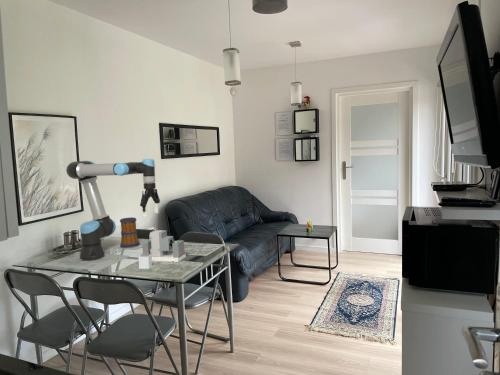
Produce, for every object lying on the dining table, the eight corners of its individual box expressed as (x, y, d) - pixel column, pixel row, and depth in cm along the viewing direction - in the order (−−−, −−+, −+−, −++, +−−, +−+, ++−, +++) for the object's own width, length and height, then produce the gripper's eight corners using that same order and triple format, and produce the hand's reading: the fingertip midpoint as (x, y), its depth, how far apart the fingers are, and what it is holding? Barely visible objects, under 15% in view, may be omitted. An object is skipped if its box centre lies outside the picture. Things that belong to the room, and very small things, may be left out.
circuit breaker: (171, 256, 237) (170, 233, 235) (150, 256, 240) (149, 232, 239) (176, 253, 244) (175, 230, 243) (156, 253, 247) (154, 230, 246)
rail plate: (142, 260, 241) (140, 241, 239) (151, 255, 251) (149, 237, 250) (178, 261, 234) (176, 242, 233) (185, 256, 244) (184, 238, 243)
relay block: (139, 268, 223) (138, 256, 222) (142, 266, 228) (141, 253, 227) (149, 268, 222) (148, 255, 222) (152, 266, 227) (151, 253, 227)
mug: (126, 242, 292) (124, 216, 290) (144, 241, 292) (143, 215, 290) (116, 248, 273) (114, 221, 271) (136, 247, 272) (134, 220, 271)
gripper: (143, 184, 237) (145, 218, 239) (164, 180, 260) (165, 211, 263) (133, 184, 239) (134, 217, 241) (154, 180, 263) (156, 211, 265)
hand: (150, 214), depth 252 cm, fingers open, 13 cm apart
